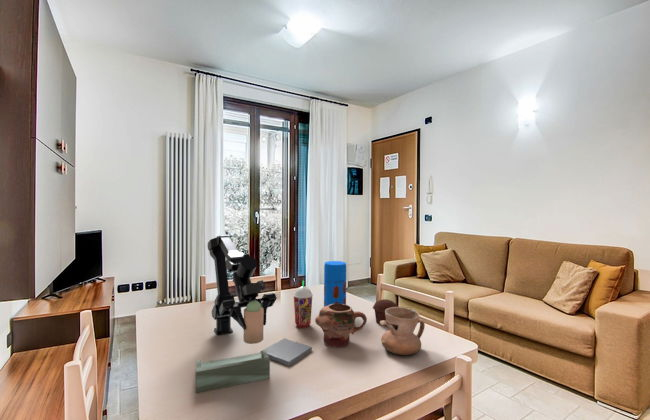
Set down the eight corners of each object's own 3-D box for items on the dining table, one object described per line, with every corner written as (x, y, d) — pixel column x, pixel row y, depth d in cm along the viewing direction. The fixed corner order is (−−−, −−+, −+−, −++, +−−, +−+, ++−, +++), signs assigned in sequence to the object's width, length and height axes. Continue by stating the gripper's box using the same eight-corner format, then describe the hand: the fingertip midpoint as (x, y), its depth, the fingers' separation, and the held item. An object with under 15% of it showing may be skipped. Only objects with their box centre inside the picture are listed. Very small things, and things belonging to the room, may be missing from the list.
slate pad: (260, 355, 111) (260, 351, 111) (284, 342, 122) (284, 338, 122) (288, 366, 104) (288, 361, 104) (311, 350, 115) (311, 346, 115)
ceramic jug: (387, 361, 108) (388, 320, 107) (371, 342, 122) (373, 306, 121) (434, 357, 112) (436, 317, 111) (414, 339, 126) (415, 304, 125)
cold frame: (196, 369, 101) (196, 351, 101) (261, 358, 109) (261, 341, 109) (196, 392, 89) (196, 372, 89) (269, 378, 97) (269, 358, 97)
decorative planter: (362, 334, 130) (362, 301, 129) (369, 348, 118) (370, 311, 117) (313, 336, 127) (314, 302, 127) (316, 350, 115) (316, 313, 115)
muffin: (397, 318, 148) (397, 297, 148) (400, 327, 137) (400, 304, 137) (371, 317, 150) (372, 296, 149) (373, 326, 139) (373, 303, 138)
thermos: (349, 312, 155) (350, 262, 155) (339, 319, 146) (339, 266, 146) (331, 308, 161) (331, 260, 161) (319, 314, 152) (319, 263, 152)
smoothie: (309, 330, 134) (310, 283, 133) (290, 328, 136) (291, 282, 135) (314, 322, 142) (314, 278, 142) (296, 321, 144) (296, 277, 143)
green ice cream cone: (240, 338, 104) (240, 300, 104) (257, 333, 109) (257, 296, 108) (249, 345, 100) (249, 305, 99) (267, 340, 104) (267, 301, 103)
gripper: (221, 276, 102) (232, 321, 93) (274, 269, 112) (289, 309, 103) (215, 294, 108) (224, 337, 99) (265, 286, 119) (278, 325, 110)
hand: (255, 327), depth 103 cm, fingers closed on green ice cream cone, 6 cm apart
